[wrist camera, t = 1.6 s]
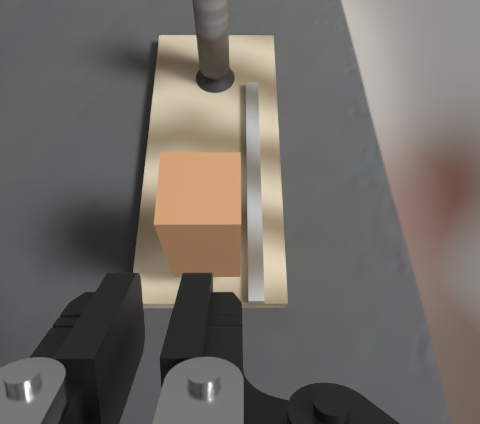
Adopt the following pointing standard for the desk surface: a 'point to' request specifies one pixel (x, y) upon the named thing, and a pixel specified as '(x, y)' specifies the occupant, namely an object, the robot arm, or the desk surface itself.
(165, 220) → the tan wooden block
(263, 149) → the plate
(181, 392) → the robot arm
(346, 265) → the desk surface
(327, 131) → the desk surface
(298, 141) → the desk surface
